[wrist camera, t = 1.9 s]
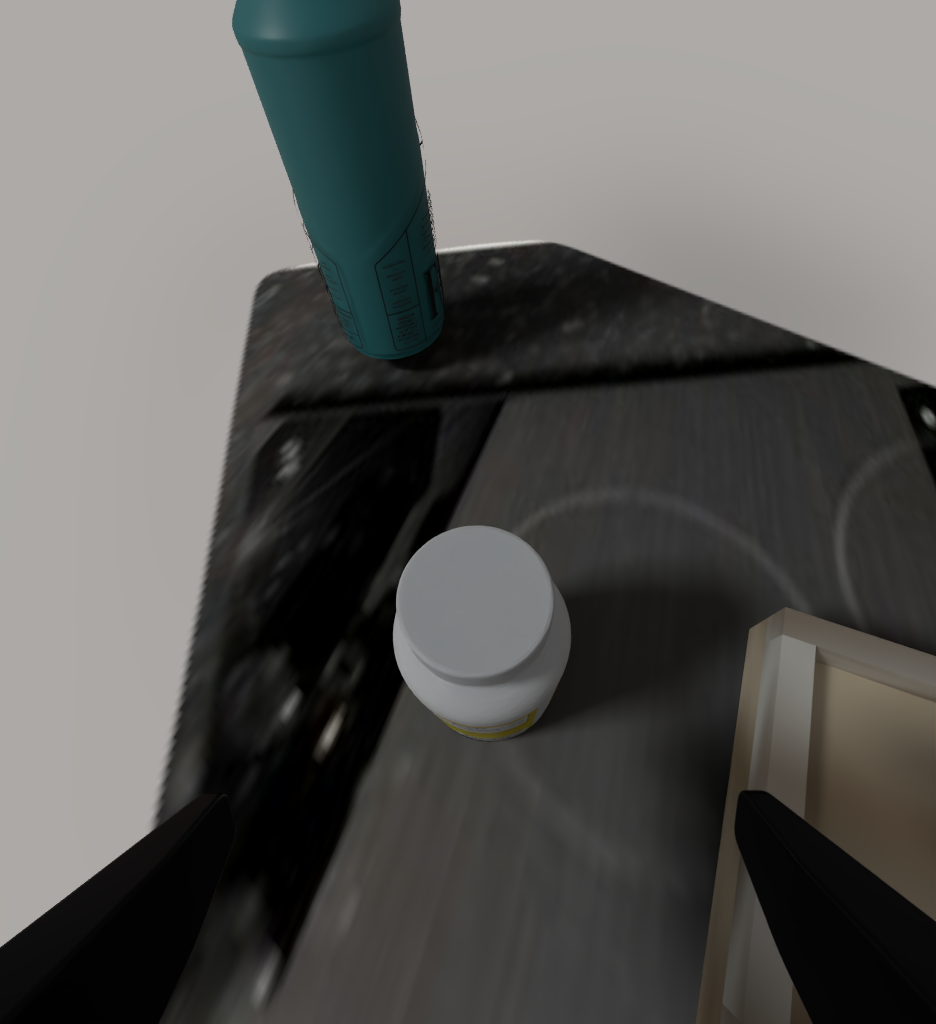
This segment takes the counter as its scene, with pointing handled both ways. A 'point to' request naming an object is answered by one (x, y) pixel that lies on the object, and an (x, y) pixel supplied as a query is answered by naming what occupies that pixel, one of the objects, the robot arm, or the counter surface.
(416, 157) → the beverage bottle
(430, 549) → the supplement bottle
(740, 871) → the shallow square tray
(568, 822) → the counter surface
